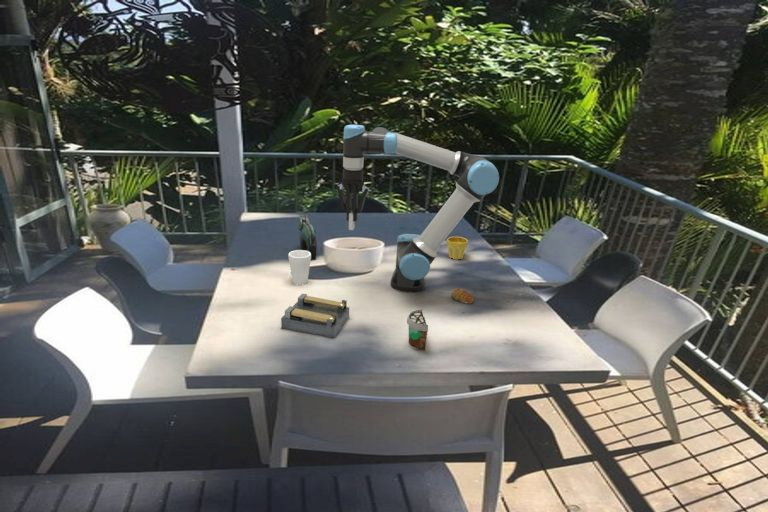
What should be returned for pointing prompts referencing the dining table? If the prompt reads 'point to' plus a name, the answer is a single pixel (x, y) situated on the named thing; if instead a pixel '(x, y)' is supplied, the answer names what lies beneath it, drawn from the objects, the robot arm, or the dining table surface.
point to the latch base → (315, 325)
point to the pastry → (462, 295)
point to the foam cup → (299, 266)
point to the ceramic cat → (307, 236)
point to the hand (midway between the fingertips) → (351, 228)
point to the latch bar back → (323, 302)
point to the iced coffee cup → (417, 329)
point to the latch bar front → (312, 315)
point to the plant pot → (456, 247)
